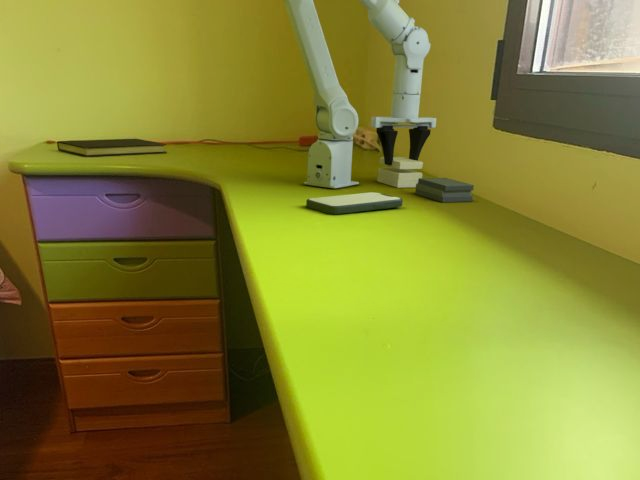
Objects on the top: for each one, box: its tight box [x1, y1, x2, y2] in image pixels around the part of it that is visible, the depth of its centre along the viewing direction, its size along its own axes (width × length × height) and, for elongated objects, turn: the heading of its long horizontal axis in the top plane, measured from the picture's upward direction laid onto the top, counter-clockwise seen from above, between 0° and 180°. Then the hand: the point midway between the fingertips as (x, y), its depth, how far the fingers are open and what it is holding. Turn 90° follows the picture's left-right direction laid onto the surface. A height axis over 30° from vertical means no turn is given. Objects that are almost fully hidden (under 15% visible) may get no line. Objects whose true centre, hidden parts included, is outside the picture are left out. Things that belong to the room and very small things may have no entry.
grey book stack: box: [415, 177, 475, 203], centre depth 135 cm, size 10×7×3 cm
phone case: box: [305, 191, 404, 215], centre depth 121 cm, size 9×2×16 cm
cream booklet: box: [379, 156, 424, 170], centre depth 147 cm, size 9×6×1 cm, turn 24°
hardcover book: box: [56, 138, 167, 158], centre depth 183 cm, size 16×23×2 cm
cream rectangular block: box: [376, 167, 423, 189], centre depth 149 cm, size 9×6×3 cm, turn 24°
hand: (400, 164), depth 148 cm, fingers closed on cream booklet, 5 cm apart
